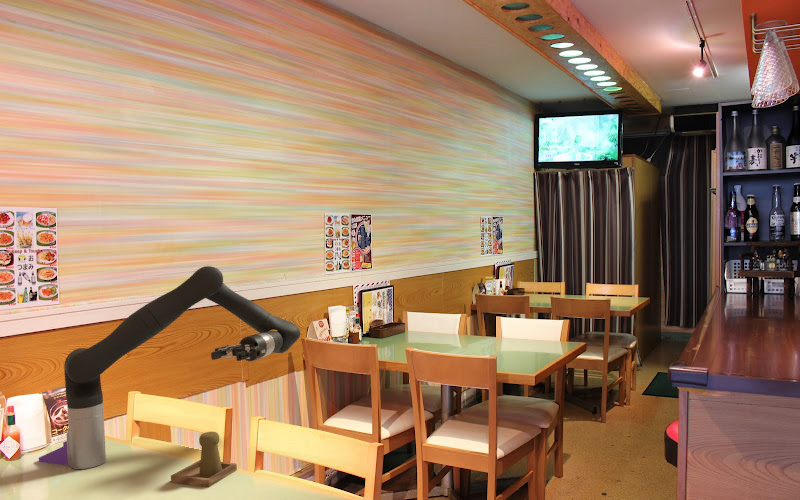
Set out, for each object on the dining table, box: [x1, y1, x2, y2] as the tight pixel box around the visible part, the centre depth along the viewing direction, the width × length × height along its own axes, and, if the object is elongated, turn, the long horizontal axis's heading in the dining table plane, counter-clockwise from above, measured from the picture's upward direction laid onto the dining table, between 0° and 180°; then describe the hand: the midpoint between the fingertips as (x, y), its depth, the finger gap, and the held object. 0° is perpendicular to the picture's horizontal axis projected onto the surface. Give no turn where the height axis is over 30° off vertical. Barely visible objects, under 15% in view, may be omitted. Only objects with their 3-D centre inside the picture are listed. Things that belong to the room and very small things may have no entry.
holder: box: [170, 459, 238, 488], centre depth 168 cm, size 12×12×2 cm
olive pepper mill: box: [198, 431, 222, 478], centre depth 168 cm, size 6×6×11 cm
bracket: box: [38, 440, 68, 466], centre depth 186 cm, size 12×7×7 cm, turn 70°
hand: (224, 356), depth 177 cm, fingers open, 8 cm apart
